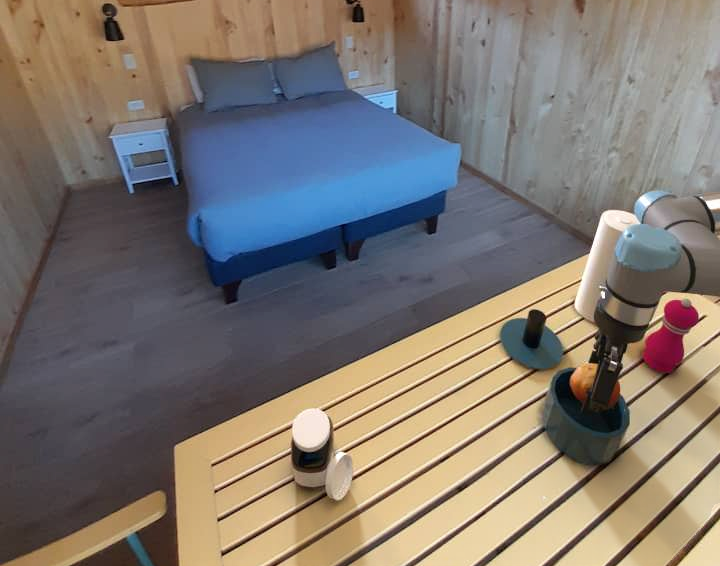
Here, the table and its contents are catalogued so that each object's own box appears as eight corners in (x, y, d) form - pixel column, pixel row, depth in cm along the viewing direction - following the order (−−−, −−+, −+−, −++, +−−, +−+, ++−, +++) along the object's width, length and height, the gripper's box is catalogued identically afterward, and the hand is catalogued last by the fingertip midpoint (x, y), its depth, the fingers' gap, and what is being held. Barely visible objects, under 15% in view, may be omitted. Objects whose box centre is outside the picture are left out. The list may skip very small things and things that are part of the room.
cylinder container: (605, 330, 103) (640, 236, 89) (568, 308, 109) (595, 218, 96) (619, 310, 108) (653, 219, 95) (583, 291, 115) (610, 203, 101)
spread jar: (300, 434, 82) (294, 399, 77) (355, 435, 81) (353, 400, 76) (288, 506, 71) (281, 470, 66) (352, 508, 71) (350, 472, 65)
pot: (616, 415, 84) (629, 387, 80) (615, 481, 74) (630, 452, 69) (547, 385, 90) (555, 357, 86) (536, 441, 80) (546, 412, 76)
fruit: (605, 430, 70) (594, 384, 70) (568, 408, 77) (558, 367, 78) (636, 411, 73) (625, 367, 73) (598, 392, 80) (588, 352, 80)
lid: (565, 335, 102) (574, 306, 97) (558, 382, 91) (567, 352, 86) (506, 312, 109) (512, 285, 104) (493, 354, 97) (498, 325, 93)
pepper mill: (633, 354, 97) (659, 293, 88) (652, 344, 99) (680, 283, 90) (663, 380, 91) (695, 317, 82) (683, 368, 93) (716, 306, 84)
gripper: (601, 264, 76) (574, 345, 87) (594, 347, 60) (563, 434, 71) (647, 278, 73) (614, 361, 83) (654, 370, 57) (611, 458, 67)
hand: (590, 394), depth 77 cm, fingers closed on fruit, 8 cm apart
